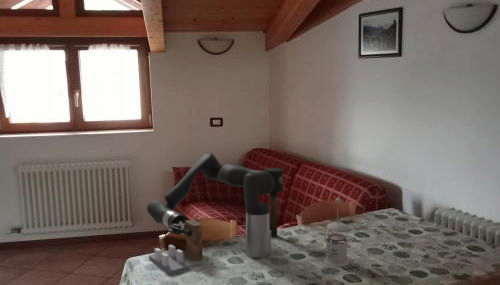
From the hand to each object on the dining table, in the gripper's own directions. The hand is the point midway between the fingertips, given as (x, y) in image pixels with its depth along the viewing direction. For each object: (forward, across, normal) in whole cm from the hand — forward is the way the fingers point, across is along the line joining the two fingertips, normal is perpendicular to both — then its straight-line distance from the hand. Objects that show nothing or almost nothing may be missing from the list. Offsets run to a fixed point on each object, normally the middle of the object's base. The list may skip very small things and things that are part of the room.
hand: (195, 232), depth 176 cm
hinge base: (-1, +11, -10) cm, 15 cm away
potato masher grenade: (-1, -40, -11) cm, 41 cm away
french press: (+34, -42, -11) cm, 55 cm away
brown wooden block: (-1, 0, -10) cm, 11 cm away
